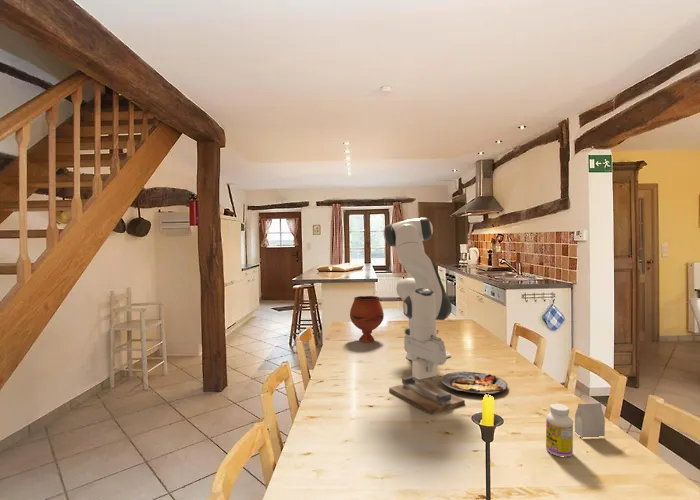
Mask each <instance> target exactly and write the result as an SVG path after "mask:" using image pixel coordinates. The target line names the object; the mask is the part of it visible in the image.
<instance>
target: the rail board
mask: <svg viewBox="0 0 700 500" xmlns="http://www.w3.org/2000/svg"><path fill="white" fill-rule="evenodd" d="M401 381H402V384H399V385H394V386H390V387H389V389H388V391H389V393H391V394H392V395H395V396H397V397H399V398H400V399H402V400H404V401H405V402H408V403H409V404H411V405H413V406H414V407H416V408H418V409H419V410H422V412H424V413H426V414H428V415H432V414H433V415H434V414H436V413H441V412H443V411H447V410H450V409H454V408H457V407H460V406H464V405H466V403H465V401H466V400H465V399H463V398H460V397H458V396H456V395H455V394H452V393H450V392H448V391H446V390H443V389H441V388H440V387H437V386H435V385H433V384H432V383H428V382H427V381H425V380H423V382H422V383H419V382H417V381H415V380H413V376H412V375H411V376H406V377H402V380H401Z"/></svg>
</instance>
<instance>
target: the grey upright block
mask: <svg viewBox="0 0 700 500" xmlns="http://www.w3.org/2000/svg"><path fill="white" fill-rule="evenodd" d="M602 406H603V405H602V403H601V402H588V403H587V402H586V403H584V402H583V403H578V404H577V409H576V411H575V414H574V433H575V432H576V433H577V434H578V435H580V436H581V437H582V438H583V437H599V436H605V435H606V433H605V431H606V429H605V428H606V427H605V426H606V425H605V424H606V422H605V421H606V420H605V416H604V412H603V408H602Z"/></svg>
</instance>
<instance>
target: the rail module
mask: <svg viewBox="0 0 700 500" xmlns="http://www.w3.org/2000/svg"><path fill="white" fill-rule="evenodd" d="M411 363H412V367H411V368H412V370H411V372H412V375H411V376H413V380H415V381H417V382H419V383H422V382H423V381H424V379H429V380H432V381H435V380H436V379H437V364H434V366H433V367H432V372H430V373H429V372H427V371H426V367H428V365H429V364H428V361H427V360H425V359H417V360H411Z"/></svg>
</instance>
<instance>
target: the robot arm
mask: <svg viewBox="0 0 700 500" xmlns="http://www.w3.org/2000/svg"><path fill="white" fill-rule="evenodd" d="M433 227H434V226H433V224H432V222H431V221H430V219H429V218H427V217H420V218H411V219H409V218H408V219H406V220H402V221H398V222H395V223H390V224H389V223H388V224H387V225H386V226H385V227H384V229H383V238H384V241H385V243H386V244H387V245H388V246H389V247H395V250H396V259H397V261H398V262H399V264H400V265H401V266H402V267H403V269H404V271H405V272H406V273H407V274H409V275H410V276H411V277H405V278H401V279H399V280H398V282H397V284H396V293H397V295H398V297H399V298H400V299H401V300H402V301H403V314H404V316H405V317H406V318H408V328H407V327H406V328H404V330H403V332H404V338H403V339H404V340H403V341H404V342H403V344H404V345H403V346H404V347H403V348H404V351H405V352H406V354H405V358H406V359H408V360H409V361H412V360H417V359H425V360H427V361H428V364H429V365H428V367H426V371H427V372H429V373H430V372H432V367H433V366H434V364H436V366H437V365H438V366H439V365H443V364H445V363H446V362H447V358H450V357H451V353H450V352H448V351H447V349H446V346H445V343H444V342H445V341H444V340H442V338H441V337H439V336H437V335H438V334H439V330H438V329H437V325H438V324H437V321H444V320H446V319H447V318H448V317H449V316H450V315H451V313H452V308H453V307H452V302H451V300H450V297H449V296H448V294H447V293H446V289H445V285H444V283H443V282H442V279H441V276H440V273H439V271H438V268H437V266H436V264H435V262H434V260H433V259H432V258H431V257H429V256H428V255H427V253H426V252H425V246H424V243H423V242H426V241H429V240H430V239H431V238H432V237H433V232H434V228H433Z"/></svg>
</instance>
